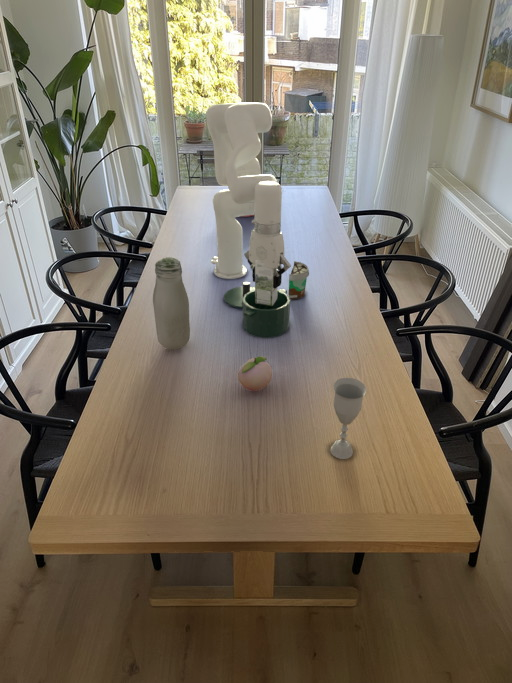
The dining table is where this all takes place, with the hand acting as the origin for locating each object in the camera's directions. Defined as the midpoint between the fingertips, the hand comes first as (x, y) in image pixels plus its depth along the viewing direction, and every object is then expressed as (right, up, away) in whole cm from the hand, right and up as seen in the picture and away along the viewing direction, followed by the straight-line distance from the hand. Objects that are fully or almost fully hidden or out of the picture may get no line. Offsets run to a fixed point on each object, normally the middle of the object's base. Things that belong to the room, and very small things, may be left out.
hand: (266, 283), depth 157 cm
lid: (-7, -3, +23) cm, 24 cm away
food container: (+12, -1, +27) cm, 29 cm away
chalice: (+16, -43, -39) cm, 60 cm away
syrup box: (0, -5, +3) cm, 6 cm away
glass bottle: (-27, -19, -2) cm, 34 cm away
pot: (0, -13, +8) cm, 15 cm away
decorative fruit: (-3, -31, -20) cm, 37 cm away
